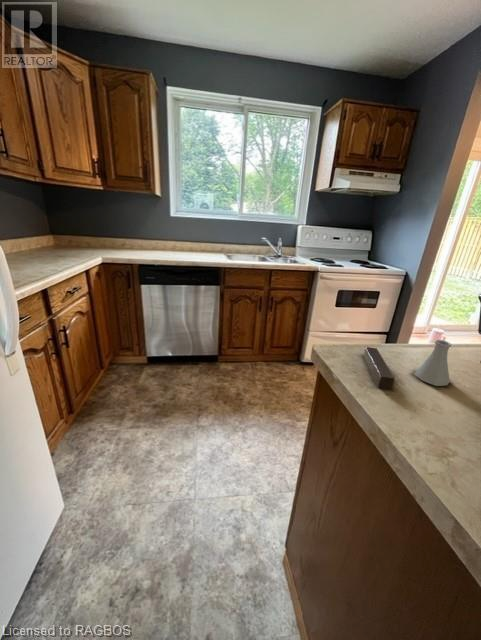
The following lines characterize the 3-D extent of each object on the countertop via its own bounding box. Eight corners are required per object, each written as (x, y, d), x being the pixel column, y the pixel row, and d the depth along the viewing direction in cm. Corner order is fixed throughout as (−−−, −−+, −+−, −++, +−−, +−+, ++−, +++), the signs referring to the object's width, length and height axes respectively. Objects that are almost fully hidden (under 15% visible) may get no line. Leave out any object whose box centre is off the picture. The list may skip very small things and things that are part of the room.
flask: (408, 373, 70) (418, 338, 66) (426, 369, 72) (437, 334, 69) (436, 389, 63) (450, 351, 60) (455, 383, 66) (469, 346, 63)
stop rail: (374, 357, 77) (376, 348, 76) (391, 389, 63) (395, 378, 61) (363, 356, 78) (365, 346, 77) (377, 387, 63) (380, 376, 62)
